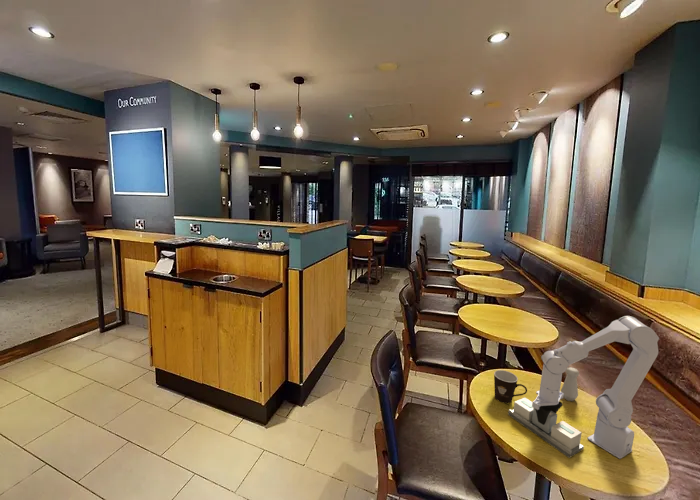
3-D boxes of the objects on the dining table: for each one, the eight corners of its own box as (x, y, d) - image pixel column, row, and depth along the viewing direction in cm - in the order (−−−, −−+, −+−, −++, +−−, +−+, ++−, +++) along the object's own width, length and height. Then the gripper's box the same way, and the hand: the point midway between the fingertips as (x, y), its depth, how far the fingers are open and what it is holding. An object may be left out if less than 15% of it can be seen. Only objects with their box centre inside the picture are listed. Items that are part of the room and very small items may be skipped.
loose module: (555, 429, 110) (557, 413, 109) (548, 433, 109) (550, 417, 108) (538, 419, 116) (540, 403, 115) (531, 422, 114) (533, 406, 113)
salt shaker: (571, 394, 133) (576, 365, 131) (580, 403, 127) (585, 373, 125) (557, 393, 134) (561, 364, 131) (564, 401, 128) (569, 372, 126)
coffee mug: (487, 394, 132) (489, 372, 130) (502, 389, 135) (504, 368, 133) (510, 412, 121) (513, 388, 120) (526, 406, 125) (529, 383, 123)
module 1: (538, 417, 117) (540, 406, 116) (528, 422, 114) (529, 411, 113) (523, 407, 122) (524, 397, 121) (513, 412, 119) (514, 401, 119)
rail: (583, 449, 104) (584, 443, 104) (569, 457, 100) (570, 451, 100) (521, 408, 123) (522, 403, 123) (507, 414, 120) (508, 409, 119)
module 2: (579, 444, 104) (581, 432, 104) (569, 450, 102) (571, 438, 101) (560, 432, 110) (562, 420, 109) (550, 437, 107) (552, 425, 106)
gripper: (551, 374, 116) (546, 408, 118) (525, 384, 109) (521, 419, 112) (571, 385, 110) (566, 420, 112) (545, 396, 103) (540, 433, 106)
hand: (545, 420), depth 111 cm, fingers closed on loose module, 4 cm apart
